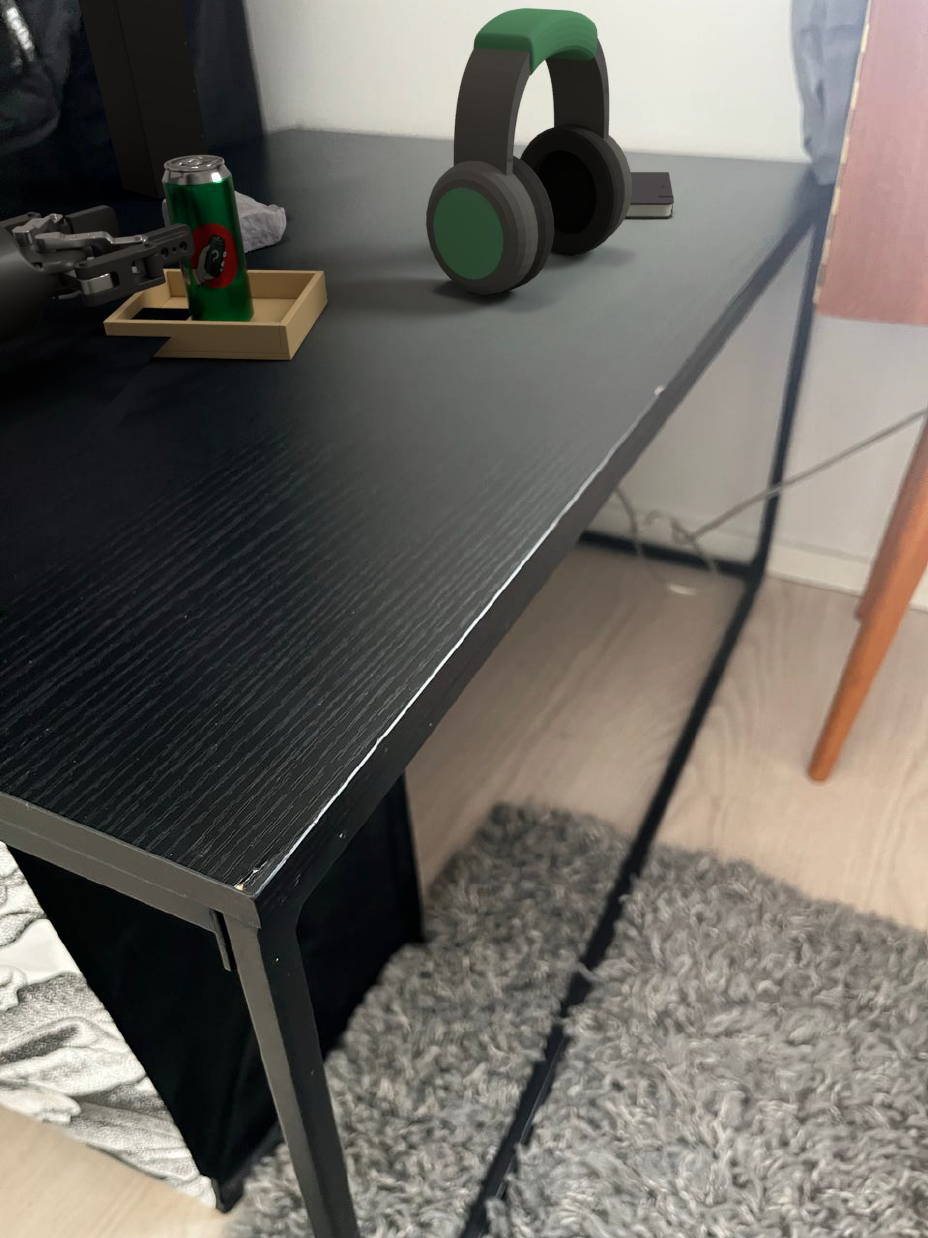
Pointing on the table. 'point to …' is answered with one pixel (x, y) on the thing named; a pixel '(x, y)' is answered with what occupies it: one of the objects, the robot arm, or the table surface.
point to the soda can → (209, 238)
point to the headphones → (528, 156)
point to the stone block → (253, 222)
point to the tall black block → (145, 86)
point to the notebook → (651, 195)
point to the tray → (271, 334)
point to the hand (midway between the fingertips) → (150, 228)
